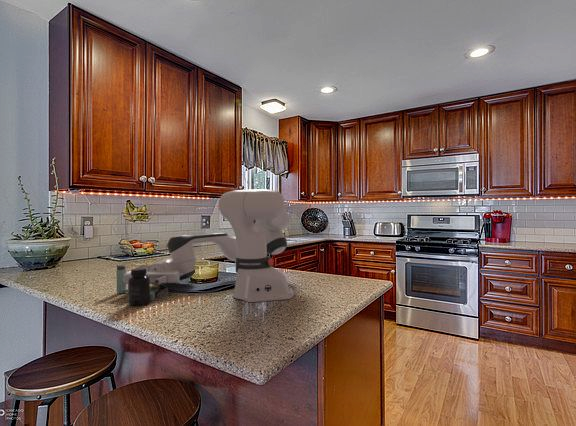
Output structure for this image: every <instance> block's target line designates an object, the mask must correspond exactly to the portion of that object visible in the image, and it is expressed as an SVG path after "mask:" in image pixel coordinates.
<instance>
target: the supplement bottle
mask: <svg viewBox="0 0 576 426" xmlns="http://www.w3.org/2000/svg"><path fill="white" fill-rule="evenodd" d="M135 268H136V267H135ZM135 268H132V269H131V275H132V277H131V278H129V280H128V284H127V289H128V292H127V293H128V294H127V297H128V306H130V307H144V306H147V305H149V304H150V302H151V300H150V288H151V284H150V278H149V277H148V276H146V274H147V272H146V268H136V269H135Z"/></svg>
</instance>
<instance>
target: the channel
mask: <svg viewBox="0 0 576 426" xmlns="http://www.w3.org/2000/svg"><path fill="white" fill-rule="evenodd" d="M156 293H157V294H156V296H157V297H156V298H157V300H160V299H162V298H164V297H165V296H166V295H167V294H169V287H164V288H162V289H161V290H160V291H157V292H156Z"/></svg>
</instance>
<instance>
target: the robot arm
mask: <svg viewBox="0 0 576 426" xmlns="http://www.w3.org/2000/svg"><path fill="white" fill-rule="evenodd" d="M285 206H286V203H285V198H284V196H283V195H282V193H281V192H280V191H277V190H272V189H267V188H266V189H264V188H263V189H239V190H238V189H236V190H231V191H227V192H224V193H223V194H222V195H220V198H219V200H218V210H219V213H220V214H221V215H222V217H224V218H225V219H226V220H227V221H228V222H229V223H230V225H231V227H232V229H233V232H234V235H235V236H232V235H229V234H228V233H227V232H210V233H198V234H197V233H196V234H176V235H173V236H172V237H170V238H169V240H168V242H167V244H166V247H167V249H168V252H169V254H170V257H168V258H163V259H161V260H159V261H157V262H153V263H151V264H143V265H138V266H136V267H135V268H134V269H136V268H146V272H147V274H146V276H148V277H149V278H150V285H154V286H161V285H163V284H174V283H178V282H179V281H182V280H186V279H188V278H191V277H193V276H194V275H195V274H196V273H195V264H196V262H197V263H198V261H197V257H196V254H195V250H194V249H195V248H194V245H195V244H204V243H213V244H214V245H216V246H217V248H218V249H219V250H220V252H221V253H222V254H223V256H224V257H225V258H227V260H230V261H233V262H235V263H234V265H235V267H234V268H235V273H236V275H235V276H236V277H235V285H234V290H233V294H232V296H233V298H235V299H237V300H243V301H245V302H248V303H258V302H266V301H267V302H268V301H281V300H292V298H293V297H294V296H295V293H294V292H295V291H294V288H291V287H289V285H288V280H287V277H286V276H285V275H284V274H283V273H282V272H280V271H279V270H277V268H275V267H274V266H273V265H274V259H273V258H272V257H270V256H276V255H278V254H281V253H283V252H284V251H285V250H286V249H287V247H288V241H287V238H286V237H285V233H284V231H285V230H287V228H288V227H289V226H290V224H291V216H290V214H289V213H288V211H287V210H286V209H285ZM268 255H270V256H268ZM131 270H132V269H131ZM131 270H128V271H126V273H125V274H124V275H123V282H124V283H125V284H126V285H128V280H129V278H131V277H132V275H131ZM194 273H195V274H194ZM193 274H194V275H193Z"/></svg>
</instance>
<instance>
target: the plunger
mask: <svg viewBox="0 0 576 426" xmlns="http://www.w3.org/2000/svg"><path fill="white" fill-rule="evenodd" d="M126 269H127V268H126V265H124V264H122V265H117V266H116V270H115V272H116V273H115V274H116V294H124V293H128V288H127V284H125V283H124V282H123V275H124V274H125V273H126V272H127V270H126ZM158 290H159V289H158V287H157V288H155V287H153V288H151V287H150V301H154V300H155V298H156V297H155V296H156V293H158V292H159V291H158Z"/></svg>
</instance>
